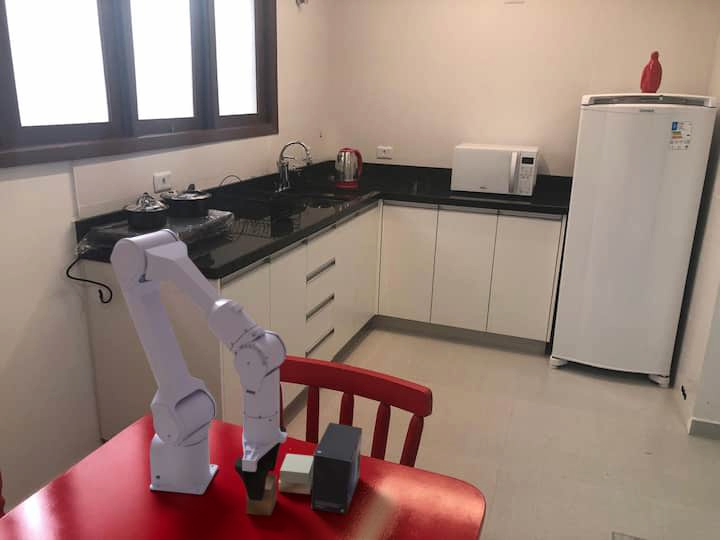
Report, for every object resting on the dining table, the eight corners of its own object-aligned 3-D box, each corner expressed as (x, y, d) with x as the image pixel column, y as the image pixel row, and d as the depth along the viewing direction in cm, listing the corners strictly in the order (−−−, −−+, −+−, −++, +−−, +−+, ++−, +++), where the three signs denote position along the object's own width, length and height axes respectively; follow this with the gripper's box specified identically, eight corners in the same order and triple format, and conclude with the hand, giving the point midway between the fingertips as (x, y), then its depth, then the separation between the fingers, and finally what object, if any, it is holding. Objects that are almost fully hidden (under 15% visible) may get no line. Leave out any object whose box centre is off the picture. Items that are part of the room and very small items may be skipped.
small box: (348, 516, 93) (350, 460, 90) (310, 509, 94) (311, 454, 92) (361, 477, 103) (363, 426, 100) (326, 472, 104) (327, 421, 102)
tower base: (278, 493, 99) (278, 482, 98) (285, 473, 104) (285, 463, 104) (309, 496, 98) (310, 485, 98) (315, 476, 104) (315, 466, 103)
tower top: (280, 481, 98) (280, 470, 98) (286, 464, 103) (286, 453, 103) (308, 484, 98) (308, 473, 97) (314, 466, 103) (314, 456, 102)
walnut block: (246, 513, 93) (246, 487, 92) (253, 497, 97) (253, 472, 96) (270, 516, 93) (270, 489, 91) (276, 500, 97) (276, 474, 95)
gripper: (275, 436, 83) (275, 515, 86) (295, 389, 97) (295, 459, 100) (227, 432, 83) (230, 511, 87) (255, 386, 97) (256, 456, 101)
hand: (262, 483), depth 94 cm, fingers open, 7 cm apart
